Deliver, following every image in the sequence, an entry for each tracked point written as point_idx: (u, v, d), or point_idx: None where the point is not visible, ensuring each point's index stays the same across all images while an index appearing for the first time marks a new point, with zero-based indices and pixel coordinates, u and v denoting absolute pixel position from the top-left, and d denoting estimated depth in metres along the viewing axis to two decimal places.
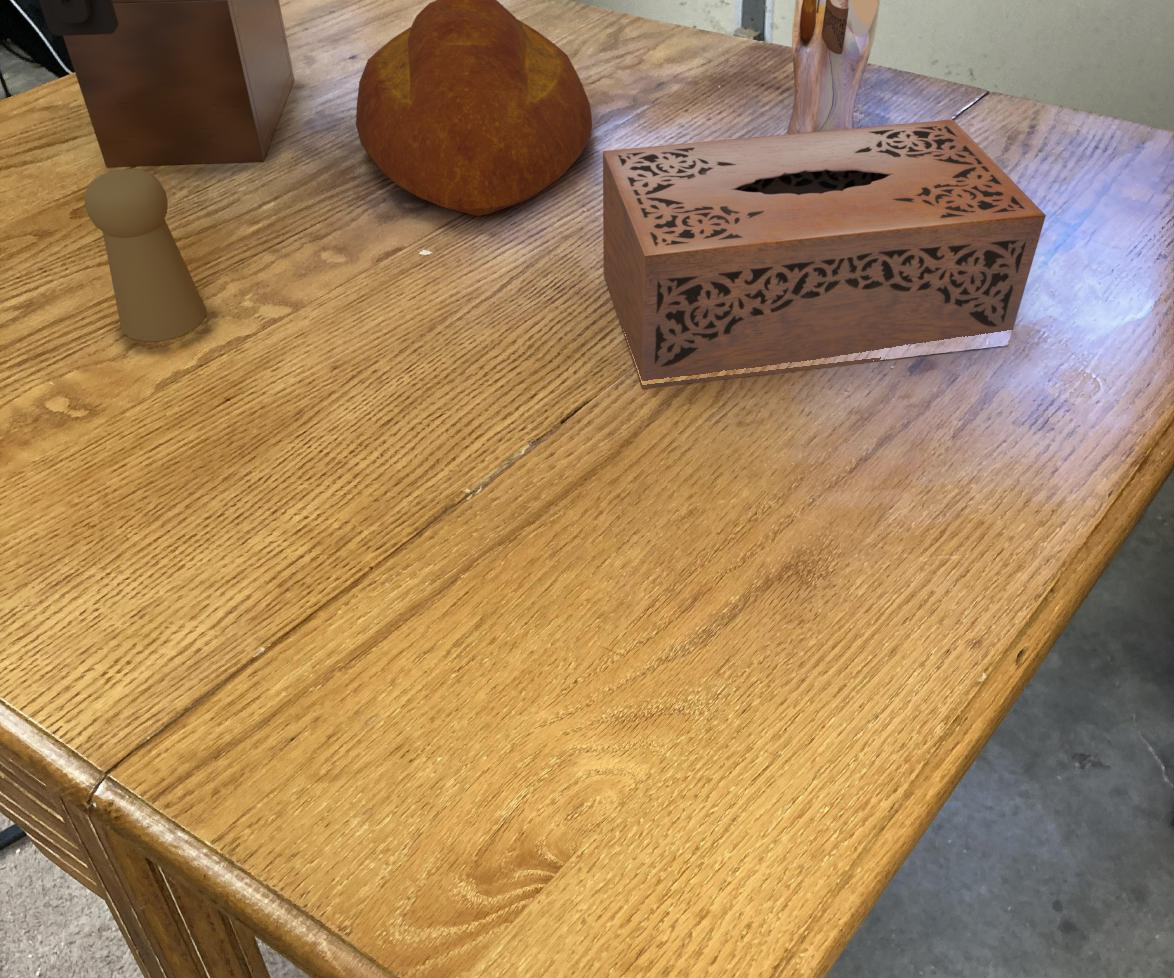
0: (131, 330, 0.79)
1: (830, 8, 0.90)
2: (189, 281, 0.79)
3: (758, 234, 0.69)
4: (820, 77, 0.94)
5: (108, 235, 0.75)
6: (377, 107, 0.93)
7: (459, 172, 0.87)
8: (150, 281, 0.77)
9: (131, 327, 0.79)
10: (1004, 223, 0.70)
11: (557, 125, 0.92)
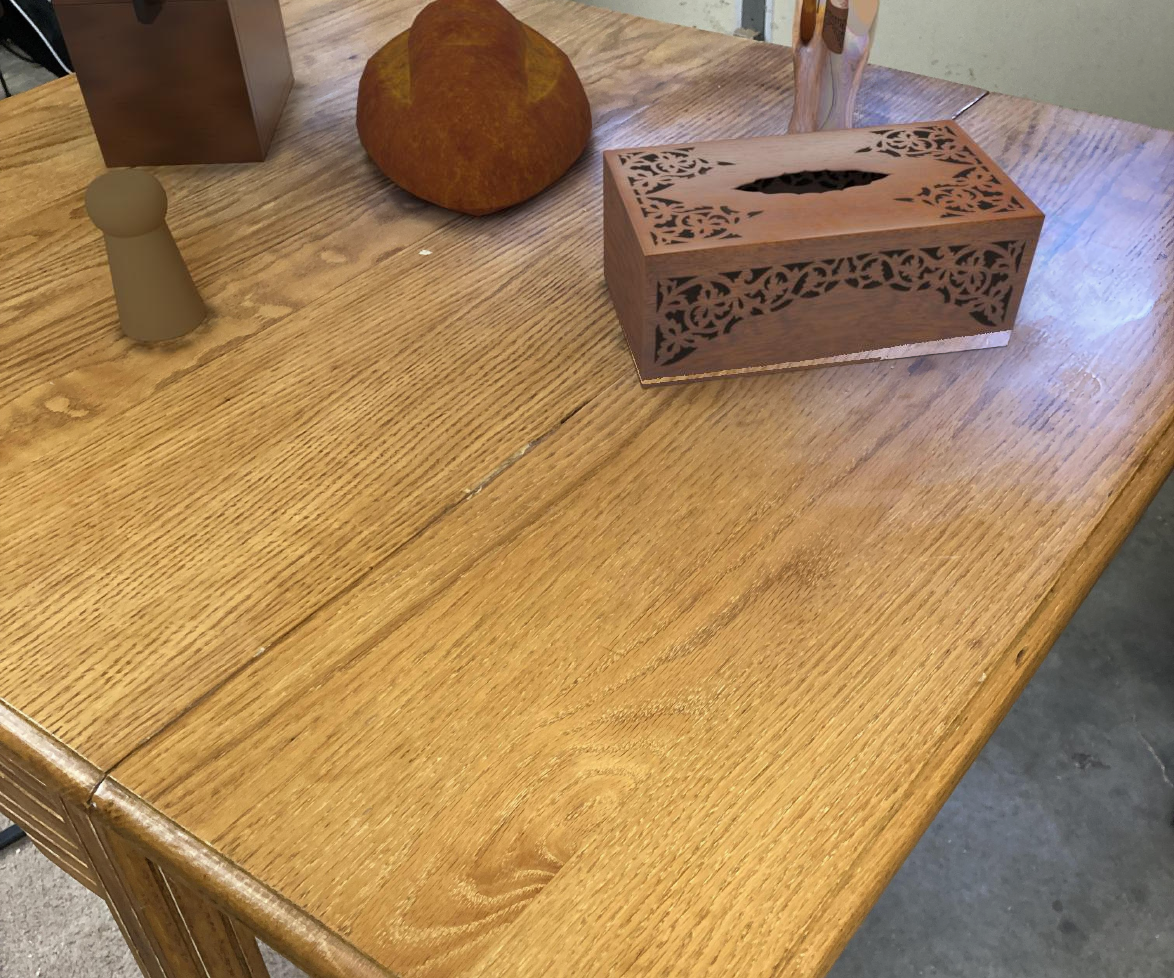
0: (131, 330, 0.79)
1: (830, 8, 0.90)
2: (189, 281, 0.79)
3: (758, 234, 0.69)
4: (820, 77, 0.94)
5: (108, 235, 0.75)
6: (377, 107, 0.93)
7: (459, 172, 0.87)
8: (150, 281, 0.77)
9: (131, 327, 0.79)
10: (1004, 223, 0.70)
11: (557, 125, 0.92)
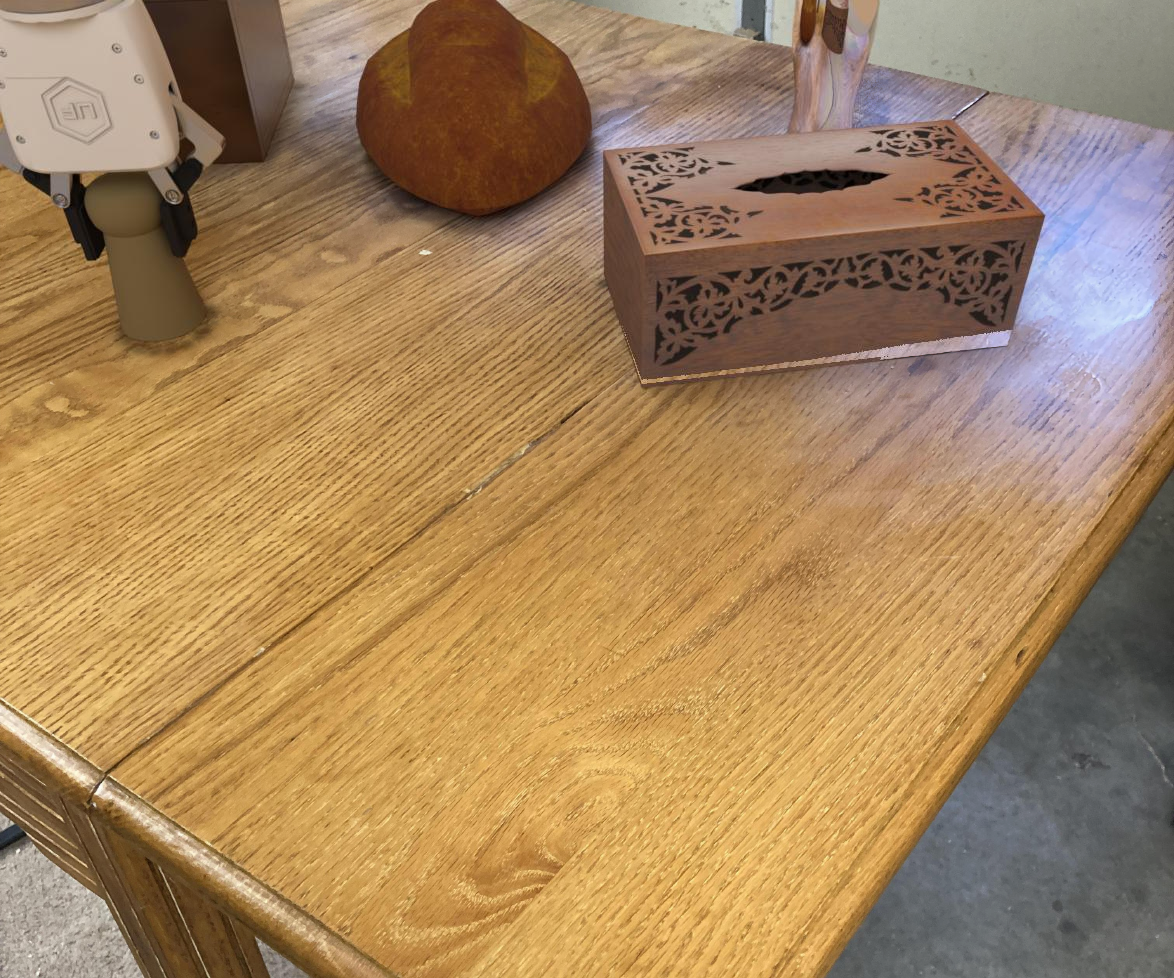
0: (131, 330, 0.79)
1: (830, 8, 0.90)
2: (189, 281, 0.79)
3: (757, 233, 0.69)
4: (820, 77, 0.94)
5: (108, 235, 0.75)
6: (377, 107, 0.93)
7: (459, 172, 0.87)
8: (150, 281, 0.77)
9: (131, 327, 0.79)
10: (1004, 223, 0.70)
11: (557, 125, 0.92)
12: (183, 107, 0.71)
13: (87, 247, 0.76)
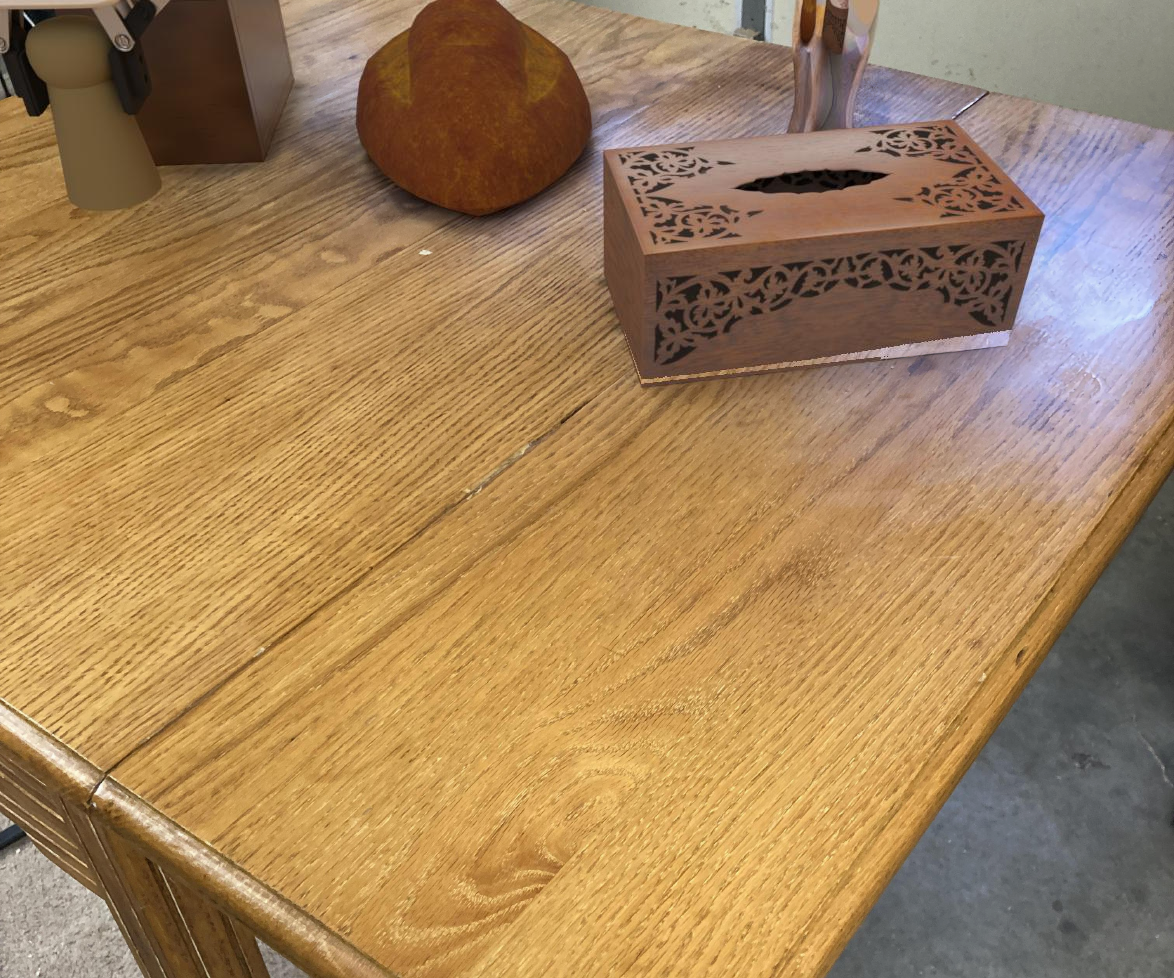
0: (78, 198, 0.72)
1: (830, 8, 0.90)
2: (143, 146, 0.73)
3: (757, 233, 0.69)
4: (820, 77, 0.94)
5: (52, 86, 0.68)
6: (377, 107, 0.93)
7: (459, 172, 0.87)
8: (98, 141, 0.70)
9: (78, 195, 0.72)
10: (1004, 223, 0.70)
11: (557, 125, 0.92)
12: None
13: (29, 100, 0.69)
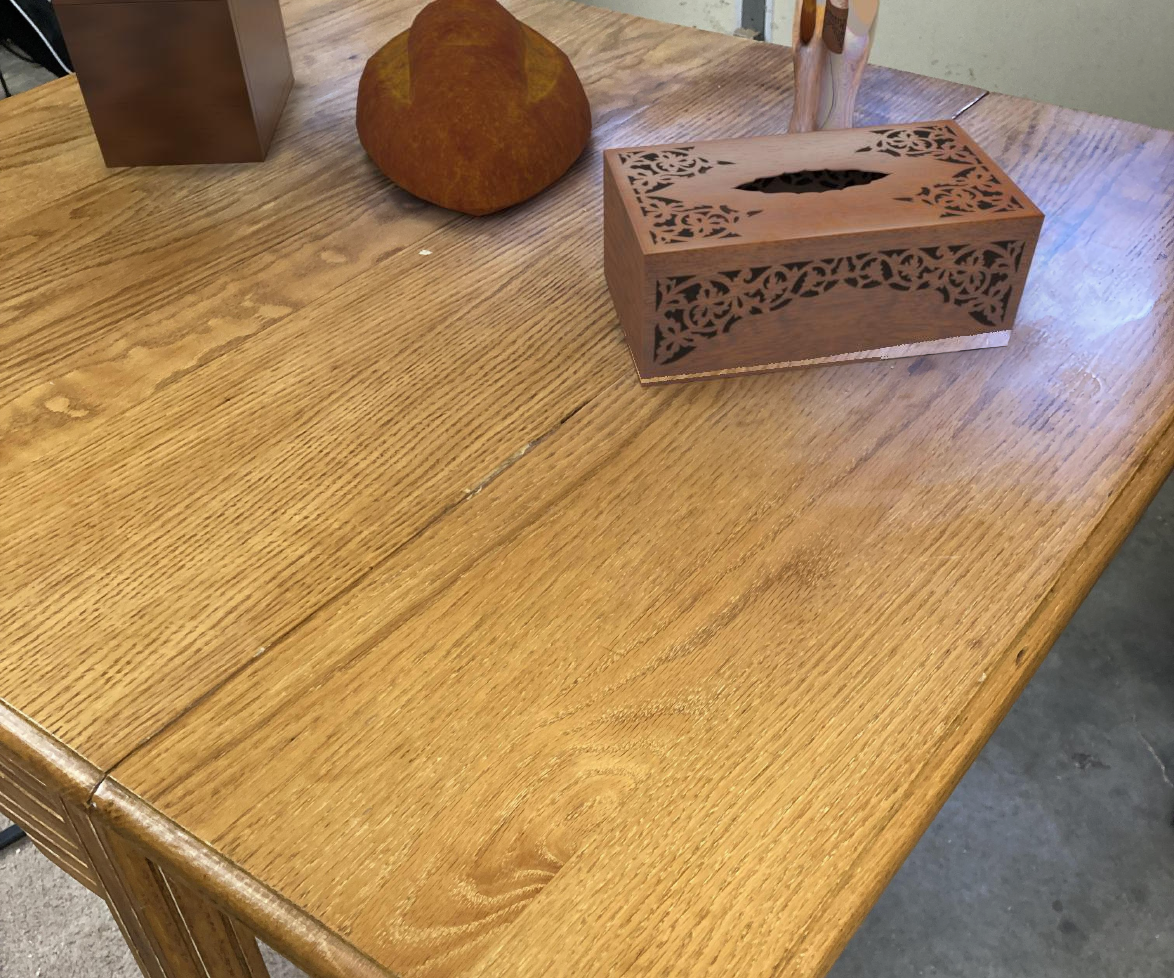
0: None
1: (830, 8, 0.90)
2: None
3: (757, 233, 0.69)
4: (820, 77, 0.94)
5: None
6: (377, 107, 0.93)
7: (459, 172, 0.87)
8: None
9: None
10: (1004, 223, 0.70)
11: (557, 125, 0.92)
12: None
13: None
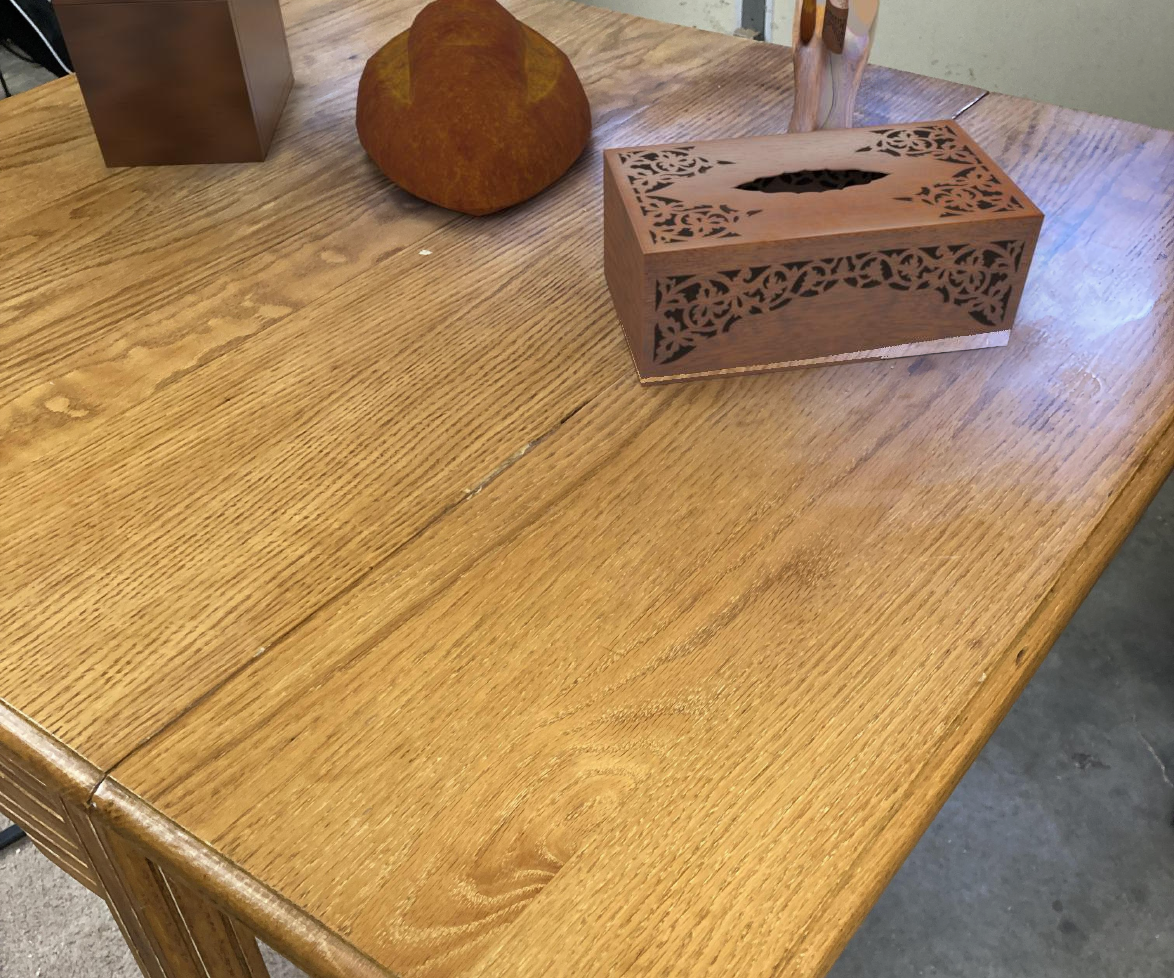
0: None
1: (830, 8, 0.90)
2: None
3: (757, 233, 0.69)
4: (820, 77, 0.94)
5: None
6: (377, 107, 0.93)
7: (459, 172, 0.87)
8: None
9: None
10: (1003, 223, 0.70)
11: (557, 125, 0.92)
12: None
13: None
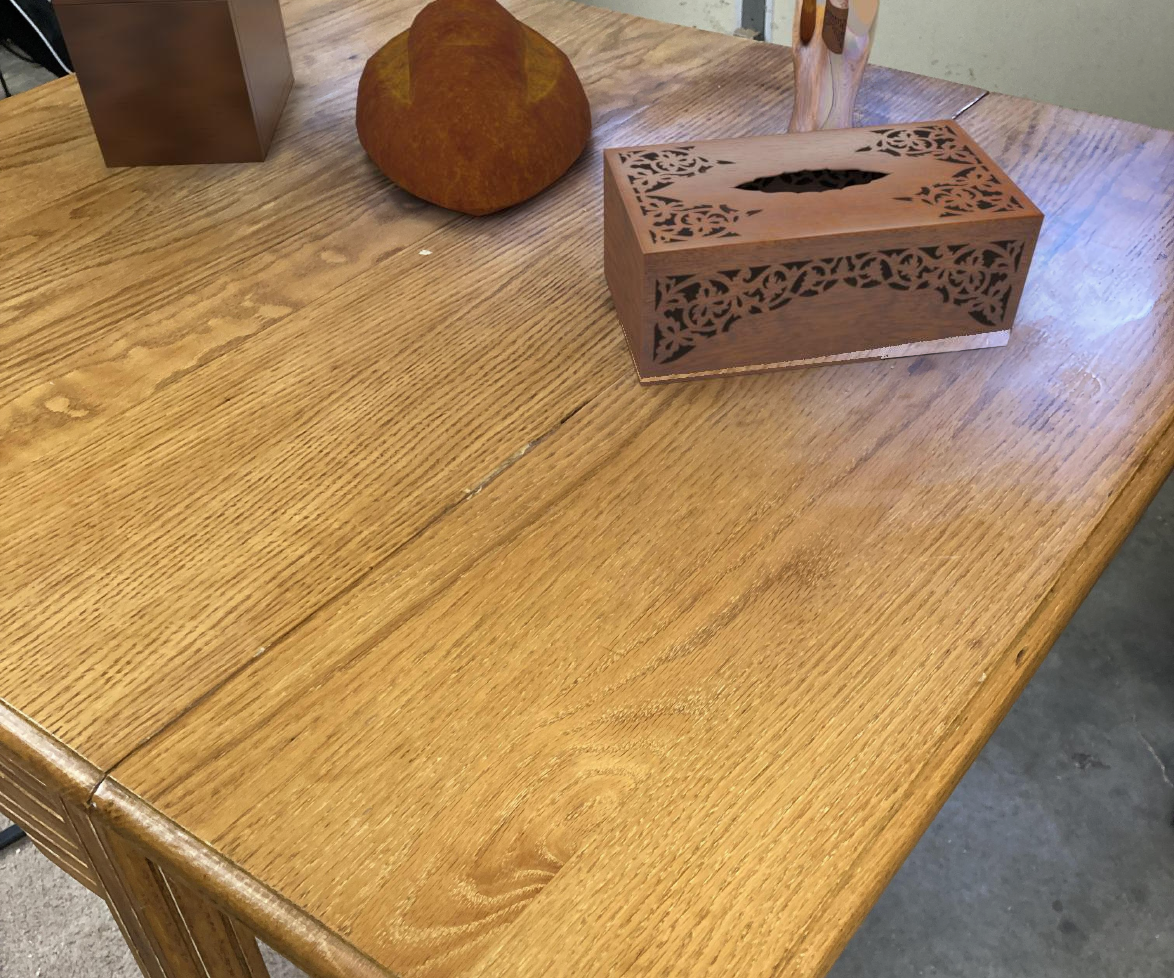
0: None
1: (830, 8, 0.90)
2: None
3: (756, 232, 0.69)
4: (820, 77, 0.94)
5: None
6: (377, 107, 0.93)
7: (459, 172, 0.87)
8: None
9: None
10: (1003, 223, 0.70)
11: (557, 125, 0.92)
12: None
13: None
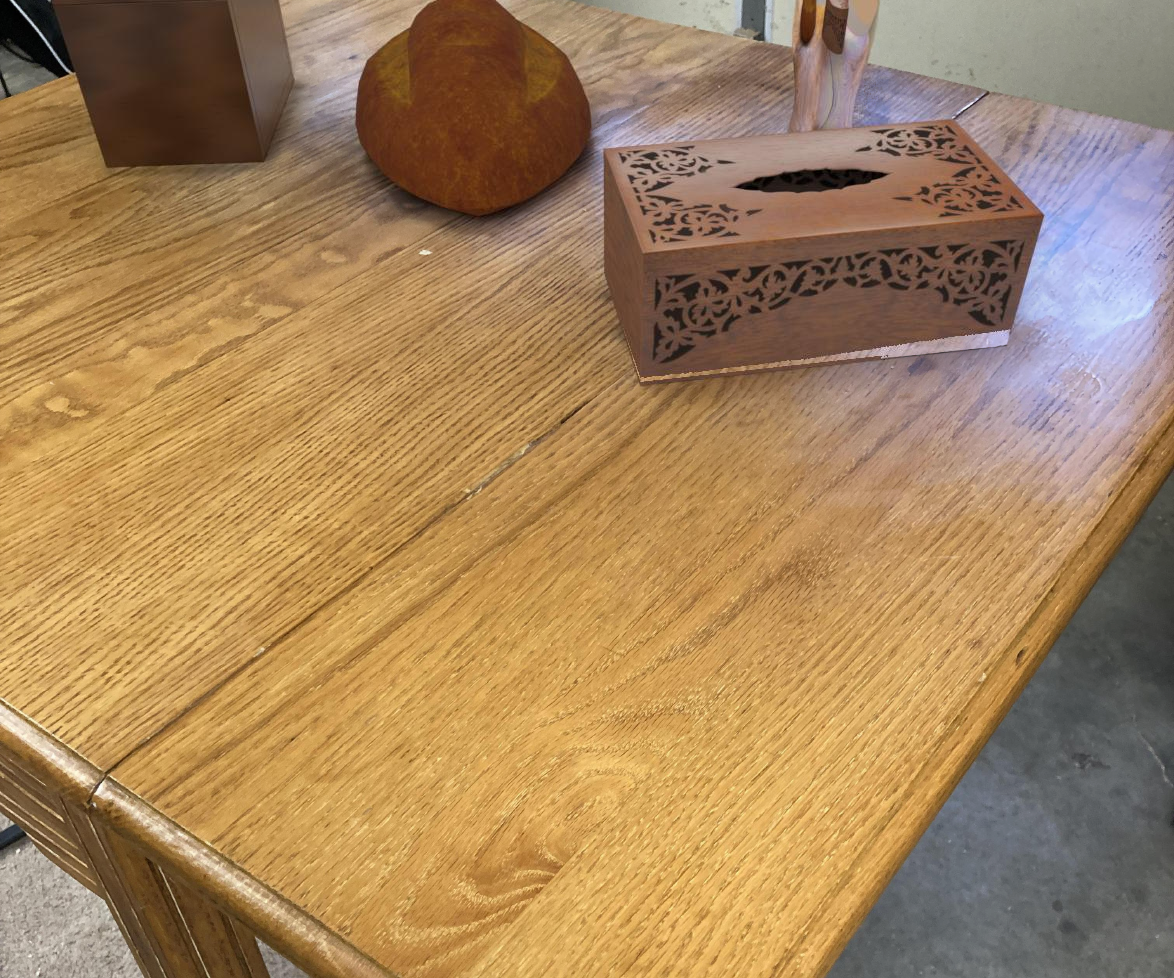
0: None
1: (830, 8, 0.90)
2: None
3: (756, 232, 0.69)
4: (820, 77, 0.94)
5: None
6: (377, 107, 0.93)
7: (459, 172, 0.87)
8: None
9: None
10: (1003, 223, 0.70)
11: (557, 125, 0.92)
12: None
13: None
